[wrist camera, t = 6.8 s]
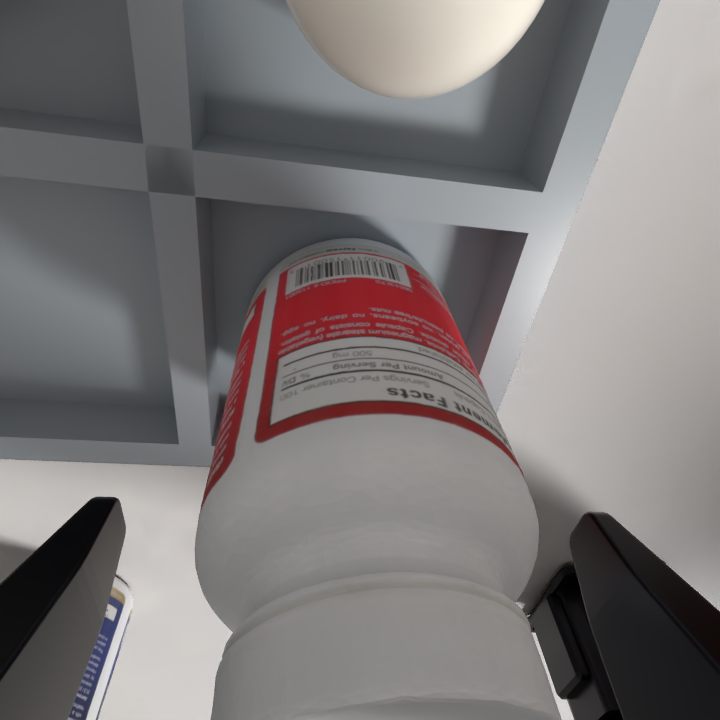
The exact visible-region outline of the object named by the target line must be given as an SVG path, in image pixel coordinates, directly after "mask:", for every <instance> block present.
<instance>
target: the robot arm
mask: <svg viewBox="0 0 720 720" xmlns="http://www.w3.org/2000/svg"><path fill="white" fill-rule="evenodd" d="M125 533H126V525H125V520H124V516H123V512H122V508H121V504H120V501H119V499H117V498H115V497H95V498H92V499H91V500H89V501H88V502H87V503H86V504H85V505H84V506H83V507H82V508H81V509H80V510H79V511H78V512H77V513H75V514H74V515H73V516H72V517H71V518H70V519H69V520H68V521H67V522H66V523H65V524H64V525H63V526H62V527H61V528H59V529H58V530H57V531H56V532H55V533H54V534H53V535H52V536H51V537H50V538H49V539H48V540H47V541H46V542H45V543H44V544H42V545H41V546H40V547H39V548H38V549H37V550H36V551H35V552H34V553H33V554H32V555H31V556H30V557H29V558H28V559H26V560H25V561H24V562H23V563H22V564H21V565H20V566H19V567H18V568H17V569H16V570H15V571H14V572H13V573H12V574H10V575H9V576H8V577H7V578H6V579H5V580H4V581H3V582H2V583H1V584H0V720H67V719H68V717H69V714H70V711H71V709H72V706H73V703H74V701H75V698H76V695H77V693H78V690H79V687H80V684H81V682H82V679H83V676H84V674H85V671H86V668H87V666H88V663H89V660H90V658H91V655H92V652H93V649H94V647H95V644H96V641H97V639H98V636H99V633H100V630H101V627H102V624H103V621H104V617H105V613H106V610H107V606H108V602H109V598H110V594H111V590H112V586H113V582H114V578H115V574H116V570H117V566H118V562H119V558H120V554H121V550H122V546H123V542H124V538H125ZM570 549H571V553H572V557H573V561H574V565H575V566H567V567H564V568H562V569H561V570H560V571H559V573H558V574H557V576H556V577H555V579H554V580H553V582H552V583H551V585H550V586H549V588H548V589H547V591H546V592H545V594H544V595H543V597H542V598H541V600H540V601H539V603H538V604H537V606H536V607H535V609H534V610H533V612H532V613H531V615H530V616H529V618H528V621H529V623H530V627H531V632H536V635H537V638H538V641H539V644H540V647H541V649H542V652H543V655H544V658H545V661H546V664H547V667H548V670H549V673H550V675H551V678H552V681H553V684H554V687H555V690H556V693H557V695H558V696H559V697H560V698H561V699H567V701H568V703H569V706H570V709H571V712H572V714H573V717H574V720H720V611H719V610H717V609H716V608H715V607H714V606H713V605H712V604H711V603H709V602H708V601H707V600H706V599H705V598H704V597H703V596H702V595H700V594H699V593H698V592H697V591H696V590H695V589H694V588H692V587H691V586H690V585H689V584H688V583H687V582H686V581H684V580H683V579H682V578H681V577H680V576H679V575H678V574H677V573H675V572H674V571H673V570H672V569H671V568H670V567H669V566H667V565H666V564H665V563H664V562H663V561H662V560H661V559H660V558H658V557H657V556H656V555H655V554H654V553H653V552H652V551H650V550H649V549H648V548H647V547H646V546H645V545H644V544H642V543H641V542H640V541H639V540H638V539H637V538H636V537H635V536H633V535H632V534H631V533H630V532H629V531H628V530H627V529H625V528H624V527H623V526H622V525H621V524H620V523H619V522H617V521H616V520H615V519H614V518H613V517H612V516H610V515H609V514H607V513H604V512H587V513H585V514H584V515H583V516H582V518H581V519H580V521H579V523H578V524H577V526H576V527H575V529H574V530H573V532H572V534H571V536H570Z"/></svg>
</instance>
